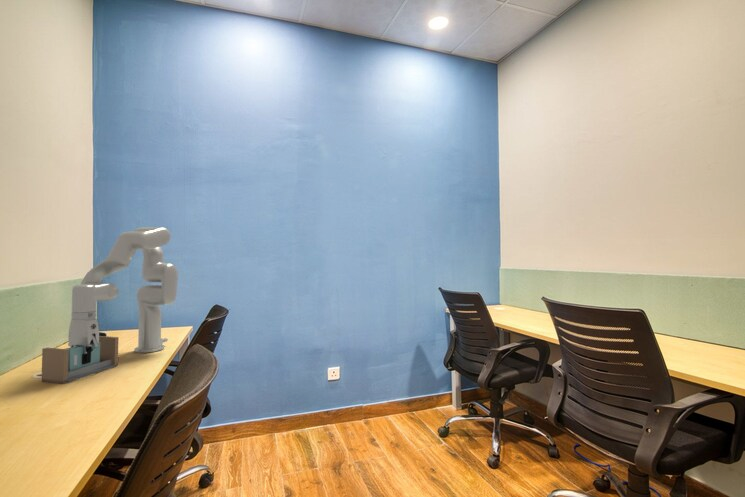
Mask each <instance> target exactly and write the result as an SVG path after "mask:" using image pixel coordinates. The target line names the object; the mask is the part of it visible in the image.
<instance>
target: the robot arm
mask: <svg viewBox="0 0 745 497" xmlns="http://www.w3.org/2000/svg"><path fill="white" fill-rule="evenodd" d="M170 240H171V232H170V231H169V229H167V228H166V227H155V226H154V227H152V226H151V227H150V226H146V227H145V226H143V227H137V228H135V229H134V230H133V231H124V232H122V233H121V234H120V235H119V236H118V237H117V239H116V241H115V243H114V244H113V246H112V247H111V250H110V251H109V253H108V255H107V257H106V258H105V259H103V260H102V261H100V262H99V263H98V264H96V265H95V266H94V267H92V268H91V269H90V270H88V272H87V273H86V274H85V276H84V277H83V279H81V282H80V284H76V285H74V286H73V287H72V288H71V292H72V293H71V316H70V319H71V320H70V323H69V329H68V337H67V340H68V343H67V346H68V347H69V348H70V347H74V346H83V353H84V354H82V364H87V363H90V362H91V352H92V351H93V349H94V348H96V347H98V344H97V343H99V332H100V327H99V322H98V319H97V302H110V301H112V300H114V299H115V298H117V297H118V295H119V288H118V286H117V285H116V284H114V283H110V282H102V280H104V279H105V278H107V277H108V276H110V275H112V274H114V273H117V272H119V271H122V270H124V269H127V267H128V266H130V263H131V261H132V259H133V257H134V255H135V253H136V252H137V251H142V258H143V260H142V272H141V274H142V279H143V281H145V282H149V283H161V285H159V284H147V285H146V284H145V285H143V286H141V287H140V288H138V290H137V292H136V301H137V305H138V306H137V307H138V332H137V334H138V336H137V337H138V338H137V339H138V341H137V347H135V348H134V349H133V351H134V352H135V353H137V354H139V353H140V354H143V353H145V354H146V353H155V352H159V351H162V350H164V349H165V345H163V344H164V343H167V342H168V340H169V339H168V337H165V338H162V310H161V308H160V306H169V305H172V304H174V303H175V301H176V298H177V293H178V280H179V279H178V278H179V272H178V268H177V267H176V266H175V265H174V264H172V263H170V262H168V263H167V262H164V251H163V249H162V247H161V246H166V245H167V244H168V243H169V242H170ZM87 347H88V349H87Z"/></svg>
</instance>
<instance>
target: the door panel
mask: <svg viewBox="0 0 745 497" xmlns="http://www.w3.org/2000/svg"><path fill="white" fill-rule="evenodd" d="M97 344H98V347H96V348H94V349H93V351H92V352H91V362H90V363H87V364H82V354H84V353H83V346H74V347H70V346H69V347H66V348H65V349H69V355H68V372H69V371H72V370H76V369H79V368H82V367H86V366H89V365H92V364H96V363H99V362H100V342H99V343H97ZM87 349H88V347H87Z"/></svg>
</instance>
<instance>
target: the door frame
mask: <svg viewBox="0 0 745 497" xmlns="http://www.w3.org/2000/svg"><path fill="white" fill-rule="evenodd" d="M99 342H100V362H99V363H96V364H92V365H89V366H86V367H82V368H79V369H76V370H72V371H69V372H68V355H69V349H66V348H55V347H44V348H42V350H41V351H42V353H41V382H42V383H50V384H52V383H53V384H60V385H65V384H67V383H70V382H73V381H76V380H80V379H83V378H86V377H88V376H91V375H95V374H98V373H101V372H104V371H107V370H110V369H112V368H116V367H118V366H119V337H118V336H99Z"/></svg>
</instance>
